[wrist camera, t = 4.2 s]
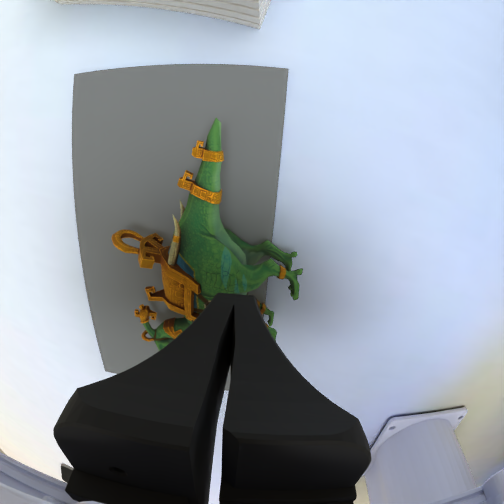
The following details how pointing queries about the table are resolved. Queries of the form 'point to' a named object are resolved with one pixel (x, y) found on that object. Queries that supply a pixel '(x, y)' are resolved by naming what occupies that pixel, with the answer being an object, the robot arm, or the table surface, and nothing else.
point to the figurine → (203, 253)
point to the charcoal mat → (165, 177)
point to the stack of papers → (199, 8)
